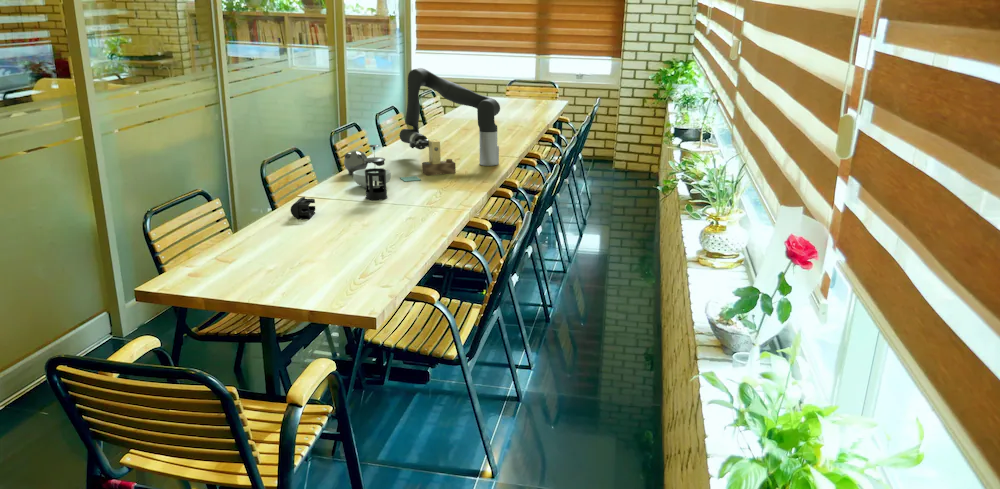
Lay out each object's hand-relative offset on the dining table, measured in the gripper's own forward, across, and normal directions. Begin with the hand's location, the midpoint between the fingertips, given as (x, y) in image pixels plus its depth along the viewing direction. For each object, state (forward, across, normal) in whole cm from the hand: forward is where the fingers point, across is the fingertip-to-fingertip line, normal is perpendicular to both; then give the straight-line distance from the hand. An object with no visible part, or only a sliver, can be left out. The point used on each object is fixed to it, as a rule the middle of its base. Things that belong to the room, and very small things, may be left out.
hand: (428, 146), depth 379 cm
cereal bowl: (+25, -35, +12) cm, 45 cm away
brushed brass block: (+10, 0, +6) cm, 12 cm away
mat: (+18, -15, +12) cm, 26 cm away
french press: (+45, -38, +12) cm, 60 cm away
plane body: (+10, +2, +12) cm, 15 cm away
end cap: (+62, -72, +12) cm, 96 cm away
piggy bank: (-3, -36, +12) cm, 38 cm away
